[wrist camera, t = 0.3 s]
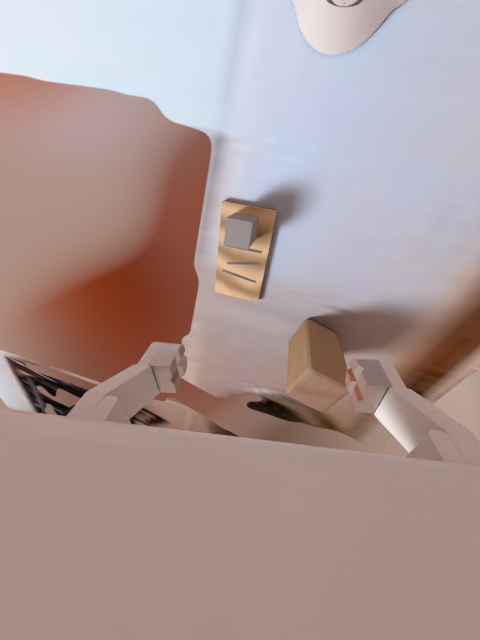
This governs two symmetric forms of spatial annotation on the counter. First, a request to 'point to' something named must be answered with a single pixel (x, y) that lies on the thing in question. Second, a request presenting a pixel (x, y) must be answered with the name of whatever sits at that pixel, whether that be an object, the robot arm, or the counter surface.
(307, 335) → the wooden block
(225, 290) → the board
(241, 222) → the block
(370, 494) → the robot arm
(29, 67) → the counter surface
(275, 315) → the counter surface
